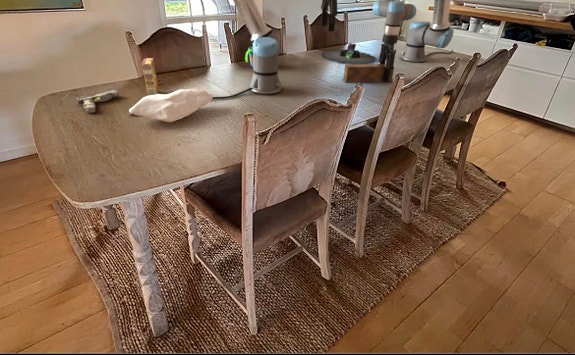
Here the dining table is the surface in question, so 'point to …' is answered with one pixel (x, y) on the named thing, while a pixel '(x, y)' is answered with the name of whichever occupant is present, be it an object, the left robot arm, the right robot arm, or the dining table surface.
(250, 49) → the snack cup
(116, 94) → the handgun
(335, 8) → the left robot arm
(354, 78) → the bar
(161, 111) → the crumpled cloth
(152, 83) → the candy box
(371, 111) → the dining table surface
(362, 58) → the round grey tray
